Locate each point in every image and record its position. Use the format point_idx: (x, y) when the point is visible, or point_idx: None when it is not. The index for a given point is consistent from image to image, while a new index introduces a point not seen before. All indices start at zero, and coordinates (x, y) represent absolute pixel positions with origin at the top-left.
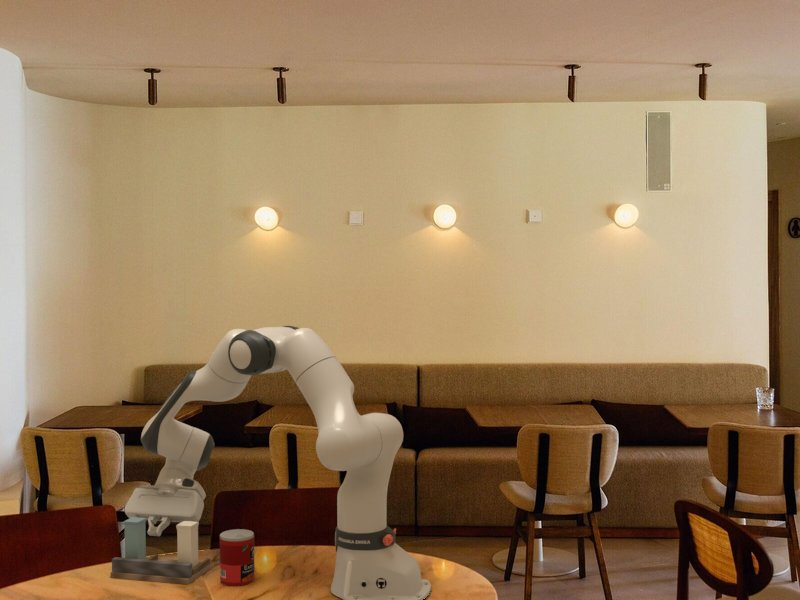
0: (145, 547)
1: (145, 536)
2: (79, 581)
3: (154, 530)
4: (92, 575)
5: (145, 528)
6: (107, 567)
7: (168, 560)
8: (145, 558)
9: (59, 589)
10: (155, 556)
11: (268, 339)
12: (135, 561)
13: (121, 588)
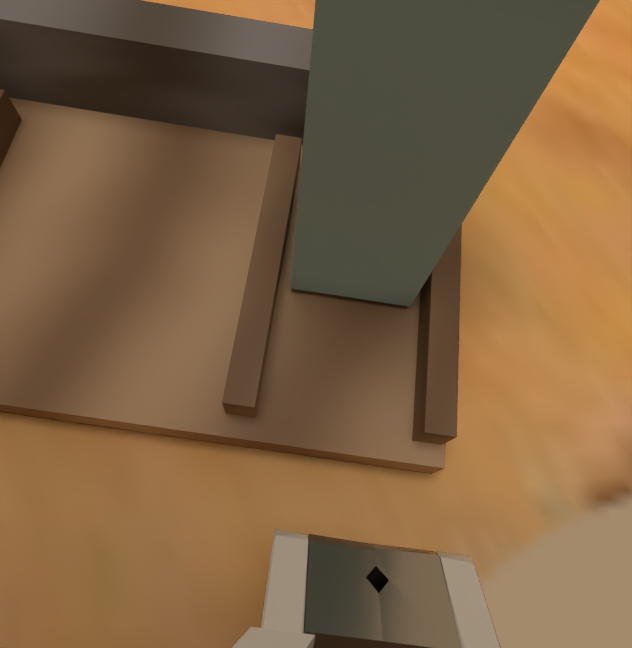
0: (297, 210)
1: (305, 125)
2: (586, 93)
3: (348, 562)
4: (581, 177)
5: (313, 26)
6: (588, 322)
7: (116, 385)
8: (293, 266)
9: (604, 4)
10: (232, 355)
11: None
12: (277, 25)
13: (295, 11)
